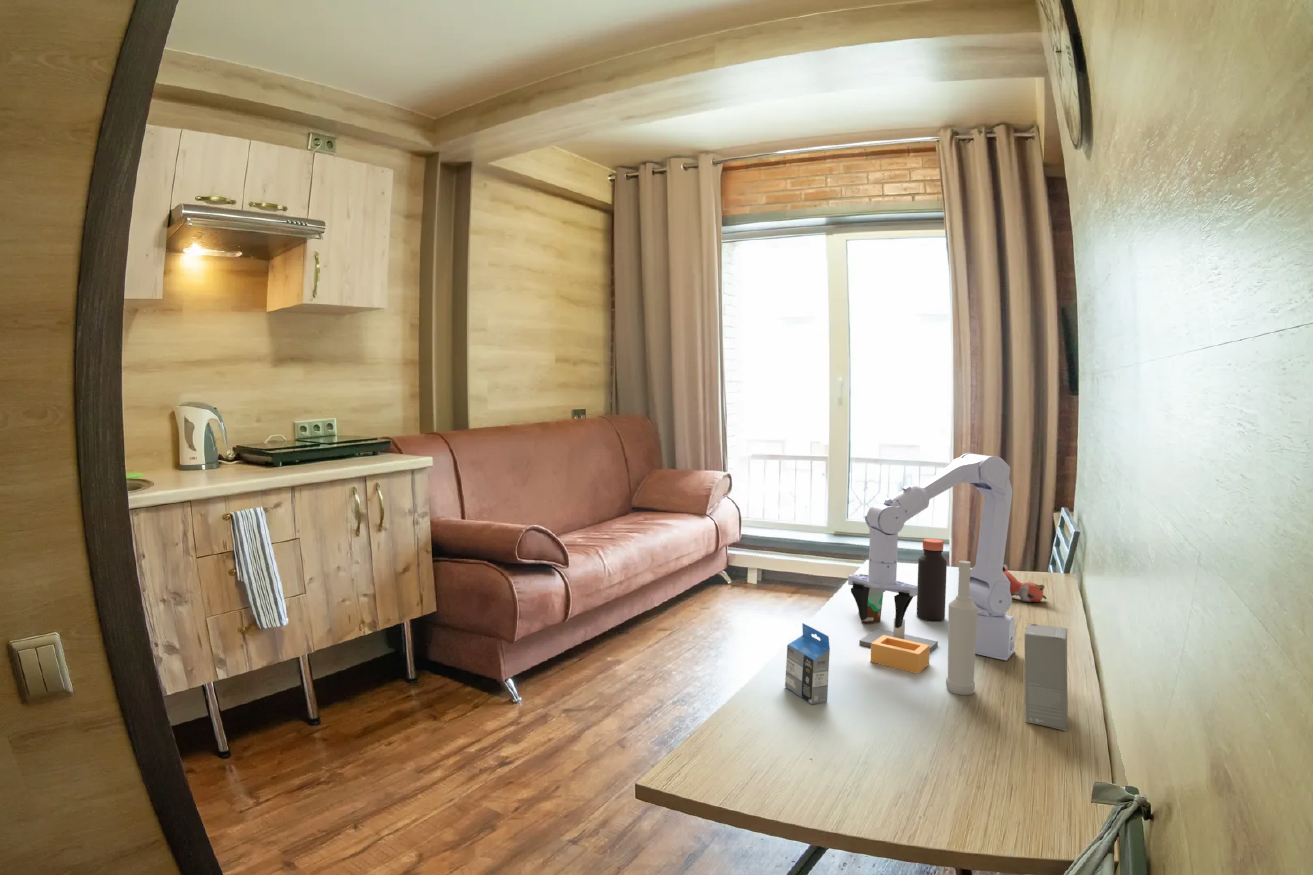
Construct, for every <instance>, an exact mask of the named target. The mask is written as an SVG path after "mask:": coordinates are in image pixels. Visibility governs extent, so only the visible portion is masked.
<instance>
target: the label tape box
mask: <svg viewBox="0 0 1313 875" xmlns="http://www.w3.org/2000/svg"><path fill="white" fill-rule="evenodd" d="M813 635H814V636H815V635H816V637H818V638H819V639H817V638H816V637H813ZM830 649H831V648H830V638H829V635H827V634H826V633H823V632H821V631H820V630H817V629H816V628H814V627H812V626H810V625H807V624H805V623H802V635H801V636H798V637H797V638H796V639H795V640H793V641H791V642H789V643H788V644H787V646H786V661H785V662H786V663H785V664H786V665H785V678H784V680H785V681H784V682H785V683H784V687H785V688H786V689H788V690H790V691H791V692H793V693H794V694H796V695H798V696H799V697H800V698H802V699H804V700H805V701H807V702H808V703H810V704H811V705H816V704H821V703H820V702H823V703H826V702H828V691H829V671H830V670H829V668H830V667H829V666H830V652H831V651H830Z"/></svg>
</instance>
